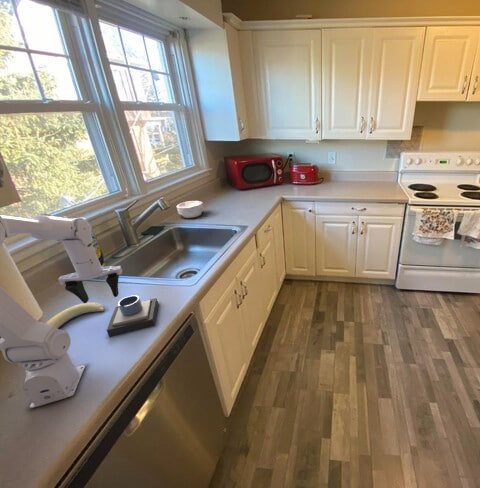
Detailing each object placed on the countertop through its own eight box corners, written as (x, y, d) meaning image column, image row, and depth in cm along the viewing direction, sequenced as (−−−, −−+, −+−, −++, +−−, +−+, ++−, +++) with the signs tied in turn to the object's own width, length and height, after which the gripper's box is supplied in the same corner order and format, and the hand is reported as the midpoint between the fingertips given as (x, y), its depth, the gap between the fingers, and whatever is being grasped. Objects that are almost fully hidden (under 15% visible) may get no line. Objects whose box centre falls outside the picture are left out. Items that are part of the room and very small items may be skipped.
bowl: (141, 313, 87) (137, 303, 86) (120, 318, 85) (115, 308, 84) (143, 303, 92) (140, 293, 90) (124, 308, 90) (119, 298, 88)
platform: (148, 319, 87) (146, 315, 87) (114, 327, 84) (112, 323, 83) (151, 302, 95) (150, 299, 94) (120, 309, 91) (119, 306, 91)
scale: (154, 325, 87) (152, 319, 86) (109, 337, 83) (106, 330, 82) (158, 303, 97) (156, 297, 96) (117, 312, 93) (115, 306, 92)
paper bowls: (180, 213, 183) (178, 201, 179) (205, 210, 187) (203, 199, 183) (177, 221, 170) (174, 208, 166) (204, 218, 174) (201, 206, 170)
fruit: (40, 328, 87) (35, 320, 85) (97, 303, 98) (93, 295, 96) (47, 338, 83) (42, 329, 81) (105, 310, 94) (102, 302, 93)
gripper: (118, 248, 85) (131, 285, 91) (58, 257, 80) (77, 296, 86) (112, 258, 79) (127, 298, 85) (47, 269, 74) (68, 310, 80)
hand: (101, 298), depth 85 cm, fingers open, 7 cm apart
